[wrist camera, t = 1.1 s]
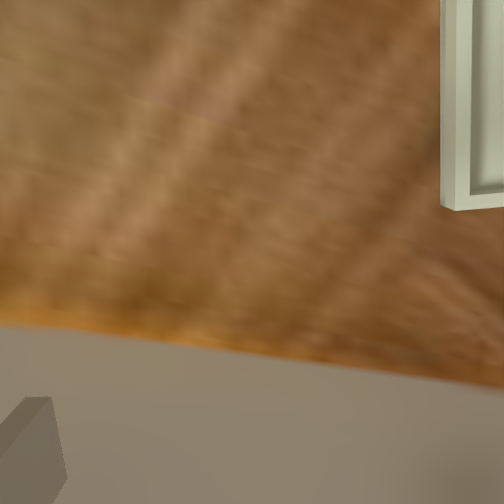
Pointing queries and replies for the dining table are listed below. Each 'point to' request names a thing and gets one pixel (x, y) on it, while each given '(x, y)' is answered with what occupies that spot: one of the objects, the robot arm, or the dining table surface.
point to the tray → (471, 104)
